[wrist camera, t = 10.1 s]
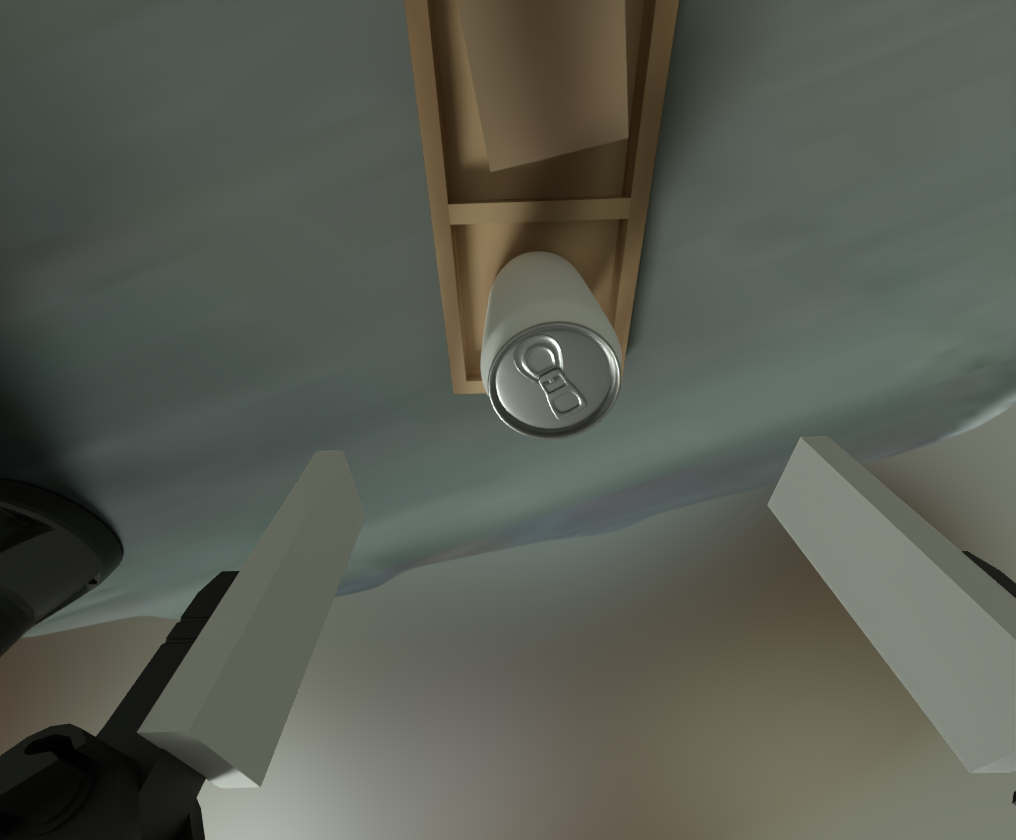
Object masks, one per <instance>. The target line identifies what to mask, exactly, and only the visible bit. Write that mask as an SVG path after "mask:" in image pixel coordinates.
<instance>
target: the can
mask: <svg viewBox="0 0 1016 840" xmlns="http://www.w3.org/2000/svg"><path fill="white" fill-rule="evenodd" d="M480 367H481V377H482V382H483V385H484V388H485V391H486V393H487V395H488V396H489V398H490V401H491V404H492V406H493V408H494V410H495V412H496V413H497V415H498V416H499V417H500V419H501V420H502V421H503V422H504V423H505V424H507V425H508V426H509V427H510V428H512V429H513V430H515V431H517V432H519V433H521V434H523V435H526V436H529V437H532V438H537V439H544V440H556V439H564V438H569V437H572V436H575V435H578V434H581V433H583V432H585V431H587V430H589V429H590V428H592V427H593V426H595V425H596V424H597V423H599V422H600V421H601V420H602V419H603V418H604V417H605V416H606V415H607V414H608V412H609V411H610V410H611V408H612V407H613V405H614V403H615V401H616V399H617V397H618V394H619V391H620V386H621V367H622V353H621V348H620V344H619V341H618V338H617V335H616V333H615V331H614V329H613V327H612V325H611V323H610V322H609V320H608V318H607V317H606V315H605V313H604V312H603V310H602V309H601V307H600V305H599V304H598V302H597V300H596V299H595V297H594V296H593V294H592V292H591V291H590V289H589V288H588V286H587V284H586V283H585V281H584V280H583V278H582V277H581V275H580V274H579V272H578V271H577V270H576V268H575V267H574V266H573V265H572V264H571V263H570V262H569V261H567V260H566V259H564V258H563V257H561V256H559V255H556V254H554V253H550V252H544V251H535V252H527V253H524V254H521V255H519V256H517V257H515V258H514V259H512V260H511V261H510V262H509V263H507V264H506V265H505V266H504V267H503V268H502V269H501V271H500V272H499V273H498V275H497V276H496V278H495V280H494V282H493V284H492V287H491V291H490V295H489V301H488V307H487V314H486V321H485V328H484V335H483V343H482V351H481V364H480Z"/></svg>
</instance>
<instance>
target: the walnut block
mask: <svg viewBox="0 0 1016 840" xmlns="http://www.w3.org/2000/svg"><path fill="white" fill-rule="evenodd" d="M457 4H458V9H459V14H460V19H461V24H462V29H463V35H464V40H465V45H466V50H467V55H468V60H469V65H470V70H471V75H472V80H473V85H474V91H475V96H476V101H477V106H478V111H479V116H480V121H481V126H482V131H483V136H484V141H485V147H486V152H487V157H488V162H489V167H490V172H494V171H498V170H502V169H506V168H510V167H514V166H518V165H522V164H526V163H530V162H534V161H538V160H542V159H546V158H550V157H554V156H558V155H562V154H566V153H571V152H575V151H579V150H583V149H587V148H591V147H595V146H599V145H603V144H607V143H611V142H615V141H619V140H623V139H627V138H629V137H628V100H627V63H626V27H625V0H457Z"/></svg>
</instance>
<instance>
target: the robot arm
mask: <svg viewBox="0 0 1016 840" xmlns="http://www.w3.org/2000/svg"><path fill="white" fill-rule="evenodd" d="M768 507H769V508H770V509H771V510H772V512H773V513H774V515H775V516H776V517H777V519H778V520H779V521H780V523H781V524H782V525H783V527H784V528H785V529H786V531H787V532H788V533H789V534H790V536H791V537H792V538H793V540H794V541H795V542H796V544H797V545H798V546H799V548H800V549H801V550H802V552H803V553H804V554H805V556H806V557H807V558H808V560H809V561H810V562H811V564H812V565H813V566H814V567H815V569H816V570H817V571H818V573H819V574H820V575H821V577H822V578H823V579H824V581H825V582H826V583H827V585H828V586H829V587H830V589H831V590H832V591H833V592H834V594H835V595H836V597H837V598H838V599H839V600H840V601H841V603H842V604H843V606H844V607H845V608H846V610H847V611H848V612H849V614H850V615H851V616H852V618H853V619H854V620H855V621H856V623H857V624H858V626H859V627H860V628H861V630H862V631H863V632H864V634H865V635H866V636H867V637H868V639H869V640H870V641H871V643H872V644H873V645H874V647H875V648H876V649H877V651H878V652H879V653H880V655H881V656H882V657H883V659H884V660H885V661H886V663H887V664H888V665H889V667H890V668H891V669H892V670H893V672H894V673H895V674H896V676H897V677H898V678H899V680H900V681H901V682H902V684H903V685H904V686H905V688H906V689H907V690H908V692H909V693H910V694H911V696H912V697H913V698H914V700H915V701H916V702H917V704H918V705H919V706H920V707H921V709H922V710H923V711H924V713H925V714H926V715H927V717H928V718H929V719H930V721H931V722H932V723H933V725H934V726H935V727H936V728H937V730H938V731H939V732H940V734H941V735H942V737H943V738H944V739H945V741H946V742H947V743H948V744H949V746H950V747H951V748H952V750H953V751H954V752H955V754H956V755H957V756H958V758H959V759H960V760H961V762H962V763H963V764H964V766H965V767H966V768H967V770H968V771H969V772H970V773H1002V772H1003V773H1004V772H1014V771H1016V583H1014V582H1013V581H1012V580H1011V579H1010V578H1008V577H1007V576H1006V575H1005V574H1004V573H1002V572H1001V571H1000V570H998V569H996V568H995V567H993V566H991V565H989V564H988V563H986V562H985V561H983V560H981V559H979V558H977V557H976V556H974V555H973V554H971V553H969V552H968V551H960V550H959V549H958V548H957V547H955V546H954V545H953V544H952V543H951V542H950V541H948V540H947V539H946V538H945V537H944V536H943V535H941V534H940V533H939V532H938V531H937V530H936V529H934V528H933V527H932V526H931V525H930V524H929V523H927V522H926V521H925V520H924V519H923V518H922V517H921V516H919V515H918V514H917V513H916V512H915V511H914V510H912V509H911V508H910V507H909V506H908V505H907V504H906V503H904V502H903V501H902V500H901V499H900V498H898V497H897V496H896V495H895V494H894V493H893V492H892V491H890V490H889V489H888V488H887V487H886V486H885V485H883V484H882V483H881V482H880V481H879V480H878V479H877V478H875V477H874V476H873V475H872V474H871V473H870V472H868V471H867V470H866V469H865V468H864V467H863V466H861V465H860V464H859V463H858V462H857V461H856V460H854V459H853V458H852V457H851V456H850V455H849V454H847V453H846V452H845V451H844V450H843V449H842V448H841V447H839V446H838V445H837V444H836V443H835V442H834V441H832V440H831V439H830V438H829V437H828V436H820V437H800V439H799V441H798V443H797V445H796V447H795V449H794V451H793V453H792V455H791V458H790V460H789V462H788V464H787V466H786V468H785V470H784V472H783V474H782V476H781V478H780V480H779V482H778V484H777V486H776V488H775V490H774V493H773V495H772V497H771V499H770V501H769V503H768ZM364 519H365V513H364V510H363V507H362V504H361V501H360V498H359V496H358V493H357V490H356V487H355V484H354V481H353V478H352V475H351V472H350V469H349V466H348V463H347V460H346V458H345V455H344V452H343V450H336V451H316V453H315V454H314V456H313V458H312V459H311V461H310V462H309V464H308V465H307V467H306V469H305V470H304V472H303V473H302V475H301V476H300V478H299V480H298V481H297V483H296V484H295V486H294V487H293V489H292V490H291V492H290V494H289V495H288V497H287V498H286V500H285V501H284V503H283V505H282V506H281V508H280V509H279V511H278V512H277V514H276V515H275V517H274V519H273V520H272V522H271V523H270V525H269V526H268V528H267V530H266V531H265V533H264V534H263V536H262V537H261V539H260V540H259V542H258V544H257V545H256V547H255V548H254V550H253V551H252V553H251V555H250V556H249V558H248V559H247V561H246V562H245V564H244V566H243V567H242V569H241V570H240V571H223V572H221V573H220V574H219V575H217V576H216V577H215V578H214V579H213V580H212V581H211V582H210V583H208V584H207V585H206V586H205V587H204V588H203V589H202V590H201V591H200V592H198V594H197V595H196V596H195V598H194V599H193V601H192V602H191V604H190V605H189V606H188V608H187V609H186V611H185V612H184V614H183V615H182V616H181V621H180V622H178V623H176V625H175V626H174V628H173V629H172V631H171V632H170V633H169V635H168V636H167V638H166V642H165V643H164V644H162V645H161V646H160V648H159V649H158V650H157V652H156V653H155V655H154V656H153V658H152V659H151V661H150V662H149V663H148V665H147V666H146V668H145V669H144V671H143V672H142V673H141V675H140V676H139V678H138V679H137V680H136V682H135V683H134V685H133V686H132V688H131V689H130V690H129V692H128V693H127V695H126V696H125V698H124V699H123V700H122V702H121V703H120V704H119V706H118V707H117V709H116V710H115V712H114V713H113V715H112V716H111V717H110V719H109V720H108V722H107V723H106V724H105V726H104V727H103V728H102V730H101V731H100V732H99V733H98V735H97V736H96V737H95V736H93V735H91V734H90V733H88V732H86V731H85V730H83V729H81V728H79V727H76V726H74V725H72V724H64V725H57V726H51V727H48V728H46V729H44V730H42V731H40V732H37V733H35V734H33V735H31V736H29V737H27V738H25V739H24V740H23V741H21V742H19V743H18V744H17V745H15V746H14V747H12V748H11V749H9V750H8V751H7V752H5V753H4V754H2V755H1V756H0V840H205V835H204V829H203V821H202V813H201V808H200V805H199V803H198V800H197V795H198V793H199V791H200V789H201V787H202V785H203V783H204V781H205V779H207V780H208V781H210V782H211V783H213V784H215V785H216V786H217V787H219V788H251V787H261V785H262V782H263V780H264V777H265V774H266V772H267V769H268V767H269V764H270V761H271V759H272V756H273V754H274V751H275V749H276V746H277V743H278V741H279V738H280V736H281V733H282V730H283V728H284V725H285V723H286V720H287V718H288V715H289V712H290V710H291V707H292V705H293V702H294V700H295V697H296V694H297V692H298V689H299V686H300V684H301V681H302V679H303V676H304V674H305V671H306V668H307V666H308V663H309V661H310V658H311V656H312V653H313V650H314V648H315V645H316V642H317V640H318V637H319V635H320V632H321V630H322V627H323V625H324V622H325V619H326V617H327V614H328V612H329V609H330V606H331V604H332V601H333V599H334V596H335V594H336V591H337V588H338V586H339V583H340V581H341V578H342V576H343V573H344V570H345V568H346V565H347V563H348V560H349V557H350V555H351V552H352V550H353V547H354V545H355V542H356V539H357V537H358V534H359V532H360V529H361V526H362V524H363V521H364ZM121 560H122V550H121V547H120V544H119V542H118V540H117V539H116V537H115V536H114V535H113V533H112V532H111V531H110V530H109V529H108V528H107V527H106V526H105V525H104V524H103V523H102V522H100V521H99V520H98V519H97V518H95V517H94V516H93V515H91V514H90V513H88V512H87V511H85V510H84V509H82V508H80V507H79V506H77V505H75V504H73V503H72V502H70V501H68V500H66V499H64V498H62V497H59V496H57V495H55V494H52V493H50V492H47V491H45V490H42V489H39V488H36V487H33V486H30V485H26V484H22V483H18V482H14V481H9V480H2V479H0V658H1V657H2V656H3V654H4V653H5V652H6V651H7V650H9V648H11V646H13V645H14V644H15V643H16V642H17V641H18V639H20V638H21V637H22V636H23V635H24V634H25V633H26V632H27V631H29V630H30V629H31V628H32V627H34V626H35V625H37V624H39V623H40V622H42V621H43V620H45V619H47V618H48V617H50V616H51V615H53V614H55V613H56V612H58V611H59V610H61V609H62V608H64V607H66V606H67V605H69V604H70V603H72V602H74V601H75V600H77V599H78V598H80V597H81V596H83V595H84V594H86V593H87V592H89V591H91V590H93V589H94V588H96V587H97V586H98V585H100V584H101V583H102V582H103V581H104V580H105V579H106V578H107V577H108V576H109V575H110V574H111V573H112V572H113V571H114V570H115V569H116V568H117V567H118V565H119V564H120V562H121ZM1012 803H1013V804H1014V805H1016V791H1015V792H1014V795H1013V802H1012Z"/></svg>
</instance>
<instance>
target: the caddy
mask: <svg viewBox="0 0 1016 840" xmlns="http://www.w3.org/2000/svg"><path fill="white" fill-rule="evenodd" d="M404 3H405V11H406V19H407V27H408V35H409V43H410V51H411V59H412V67H413V75H414V83H415V91H416V99H417V106H418V114H419V122H420V130H421V138H422V146H423V154H424V162H425V170H426V178H427V186H428V194H429V202H430V210H431V218H432V226H433V234H434V242H435V250H436V258H437V266H438V273H439V281H440V289H441V297H442V305H443V313H444V321H445V329H446V337H447V345H448V353H449V361H450V369H451V377H452V385H453V393H454V394H471V393H486V391H485V388H484V385H483V382H482V377H481V367H480V364H481V351H482V343H483V335H484V328H485V321H486V314H487V307H488V301H489V295H490V291H491V287H492V284H493V282H494V280H495V278H496V276H497V275H498V273H499V272H500V271H501V269H502V268H503V267H504V266H505V265H506V264H507V263H509V262H510V261H511V260H512V259H514V258H515V257H517V256H519V255H521V254H524V253H527V252H535V251H544V252H550V253H554V254H556V255H559V256H561V257H563V258H564V259H566V260H567V261H569V262H570V263H571V264H572V265H573V266H574V267H575V268H576V270H577V271H578V272H579V274H580V275H581V277H582V278H583V280H584V281H585V283H586V284H587V286H588V288H589V289H590V291H591V292H592V294H593V296H594V297H595V299H596V300H597V302H598V304H599V305H600V307H601V309H602V310H603V312H604V313H605V315H606V317H607V318H608V320H609V322H610V323H611V325H612V327H613V329H614V331H615V333H616V335H617V338H618V341H619V344H620V348H621V353H622V367H621V382H622V375H623V368H624V362H625V355H626V349H627V342H628V335H629V329H630V322H631V315H632V309H633V302H634V296H635V289H636V282H637V276H638V269H639V263H640V256H641V249H642V243H643V236H644V229H645V223H646V216H647V210H648V203H649V196H650V190H651V183H652V177H653V170H654V163H655V157H656V150H657V144H658V137H659V130H660V124H661V117H662V110H663V104H664V97H665V91H666V84H667V77H668V71H669V64H670V58H671V51H672V44H673V38H674V31H675V24H676V18H677V11H678V5H679V0H625V27H626V63H627V100H628V137H629V138H627V139H623V140H619V141H615V142H611V143H607V144H603V145H599V146H595V147H591V148H587V149H583V150H579V151H575V152H571V153H566V154H562V155H558V156H554V157H550V158H546V159H542V160H538V161H534V162H530V163H526V164H522V165H518V166H514V167H510V168H506V169H502V170H498V171H494V172H490V167H489V162H488V157H487V152H486V147H485V141H484V136H483V131H482V126H481V121H480V116H479V111H478V106H477V101H476V96H475V91H474V85H473V80H472V75H471V70H470V65H469V60H468V55H467V50H466V45H465V40H464V35H463V29H462V24H461V19H460V14H459V9H458V4H457V0H404ZM620 388H621V386H620Z"/></svg>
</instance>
